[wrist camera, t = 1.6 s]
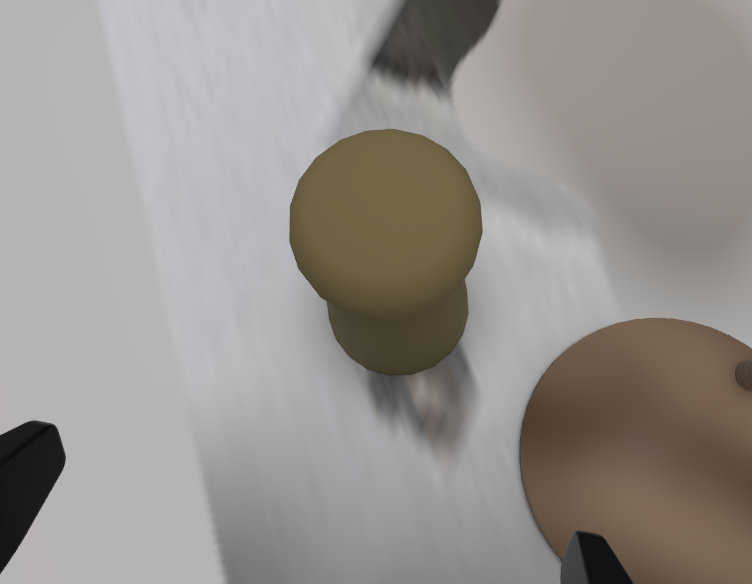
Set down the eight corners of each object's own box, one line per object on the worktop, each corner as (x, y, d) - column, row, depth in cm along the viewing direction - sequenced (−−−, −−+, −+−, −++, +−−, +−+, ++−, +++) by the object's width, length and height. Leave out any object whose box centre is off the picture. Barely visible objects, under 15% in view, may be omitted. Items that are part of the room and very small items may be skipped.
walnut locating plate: (825, 643, 20) (932, 696, 16) (509, 592, 21) (531, 629, 17) (807, 338, 23) (894, 315, 18) (528, 308, 24) (551, 279, 20)
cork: (304, 339, 24) (214, 259, 14) (365, 218, 25) (326, 59, 15) (433, 400, 23) (445, 364, 12) (490, 271, 24) (545, 139, 14)
